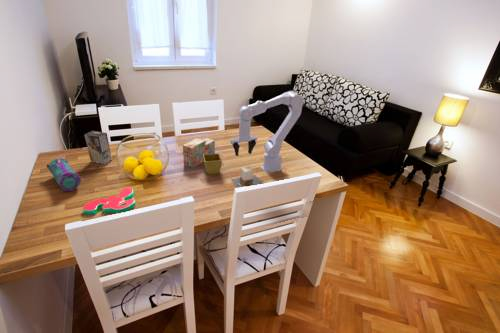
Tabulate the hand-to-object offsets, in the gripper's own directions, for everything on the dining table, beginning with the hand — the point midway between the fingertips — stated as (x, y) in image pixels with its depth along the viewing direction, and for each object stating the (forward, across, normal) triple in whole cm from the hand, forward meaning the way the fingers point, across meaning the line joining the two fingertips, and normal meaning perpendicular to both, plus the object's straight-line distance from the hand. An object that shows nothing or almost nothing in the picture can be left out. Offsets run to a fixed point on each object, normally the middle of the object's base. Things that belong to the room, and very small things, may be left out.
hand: (243, 154), depth 148 cm
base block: (+10, +5, +15) cm, 18 cm away
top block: (+6, +5, +14) cm, 16 cm away
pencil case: (+10, +83, -20) cm, 86 cm away
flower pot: (+10, +16, -4) cm, 19 cm away
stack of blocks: (+10, +17, -21) cm, 29 cm away
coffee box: (+10, +68, -37) cm, 78 cm away
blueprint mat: (+10, +3, +14) cm, 17 cm away
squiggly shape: (+11, +66, +6) cm, 67 cm away
